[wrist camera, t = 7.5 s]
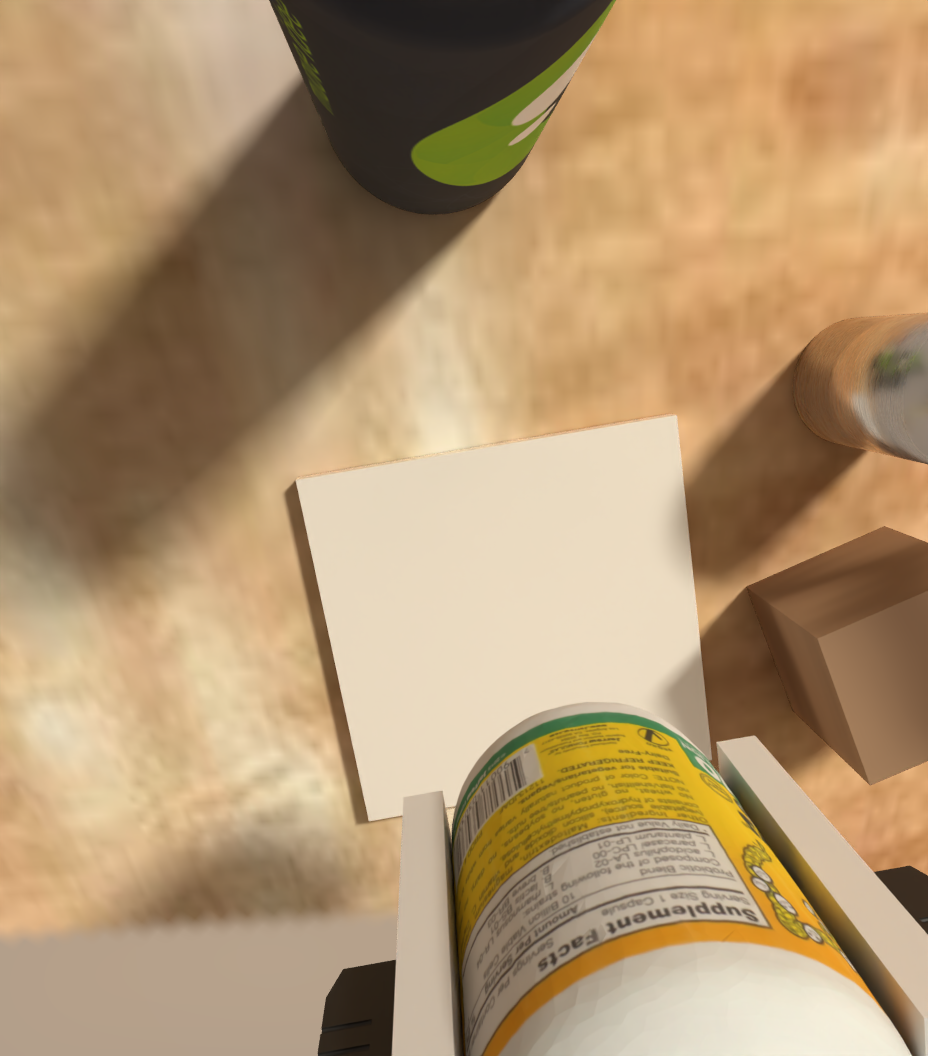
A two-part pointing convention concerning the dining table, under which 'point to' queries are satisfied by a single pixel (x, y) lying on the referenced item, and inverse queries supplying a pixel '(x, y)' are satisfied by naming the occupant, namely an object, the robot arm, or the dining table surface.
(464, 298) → the dining table surface
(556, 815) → the supplement bottle
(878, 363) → the cylinder
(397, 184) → the beverage can
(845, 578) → the walnut block
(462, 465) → the coaster
